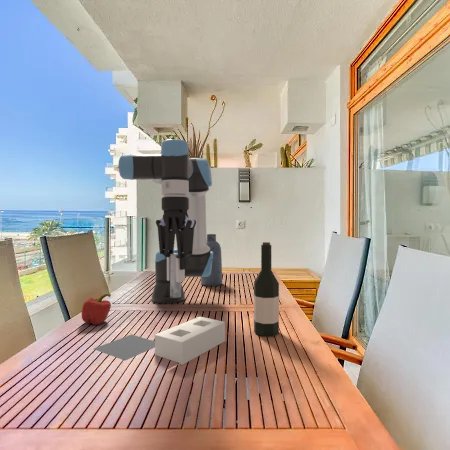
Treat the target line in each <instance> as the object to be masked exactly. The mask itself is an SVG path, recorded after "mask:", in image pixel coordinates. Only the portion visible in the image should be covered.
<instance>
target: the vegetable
mask: <svg viewBox="0 0 450 450" xmlns="http://www.w3.org/2000/svg"><path fill="white" fill-rule="evenodd" d="M111 296H112V295H111V293H104V294H103V295H100V296H99V298H93V297H90V298H88V299H87V300H85V301H84V303H83V305H82V308H81V320H82V321H83V322H84V323H86V324H92V325H96V326H97V325H98V326H99V325H102V324H103V323H104V322H105V321H106V320H107V318H108V315H109V313H110V310H111V307H112V304H111V301H110V300H104V299H105V298H106V297H108V298H110V297H111Z"/></svg>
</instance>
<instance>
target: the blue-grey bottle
mask: <svg viewBox="0 0 450 450" xmlns="http://www.w3.org/2000/svg"><path fill="white" fill-rule="evenodd" d="M206 238H207V245H208V246H209V247H210V251H212V252H213V260H212V268H211V274H210V276H208V277H200V285H203V286H204V287H205V286H206V287H216V286H221V285H222V284H223V266H222V265H223V263H222V261H223V260H222V247H221V244H220V243H219V242H218V241H217V234H215V233H206Z"/></svg>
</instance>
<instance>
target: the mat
mask: <svg viewBox="0 0 450 450" xmlns="http://www.w3.org/2000/svg"><path fill="white" fill-rule="evenodd" d="M152 349H155V340H153V339H148V338H146V337H141V336H138V335H135V334H129V335H127V336H124V337H121V338H119V339H115V340H112V341H110V342H108V343H105V344H104V343H103V344H102V345H100V346H96V347H94V348H93V350H95V351H99V352H101V353H103V354H107V355H110V356H112V357H115V358H118V359H120V360H123V361H127V360H129V359H131V358H133V357H136V356H139V355H141V354H143V353H144V352H147V351H149V350H152Z"/></svg>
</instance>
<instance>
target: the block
mask: <svg viewBox="0 0 450 450" xmlns="http://www.w3.org/2000/svg"><path fill="white" fill-rule="evenodd" d="M154 341H155V347H154V356H158V357H161V358H163V359H167V360H169V361H173V362H176V363H177V364H179V365H182V366H183V365H185V364H187V363H189V362H190V361H193V360H194V359H195V358H198V357H200V356H201V355H203V354H204V353H206V352H208V351H210V350H212V349H214V348H215V347H218V346H219V345H221V344H223V343H224V342H226V321H222V320H217V319H213V318H209V317H203V316H198V317H195V318H193V319H191V320H188V321H186V322H183V323H181V324H178V325H176V326H173V327H170V328H168V329H166V330H163V331H160V332H158V333H156V334H154Z"/></svg>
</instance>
